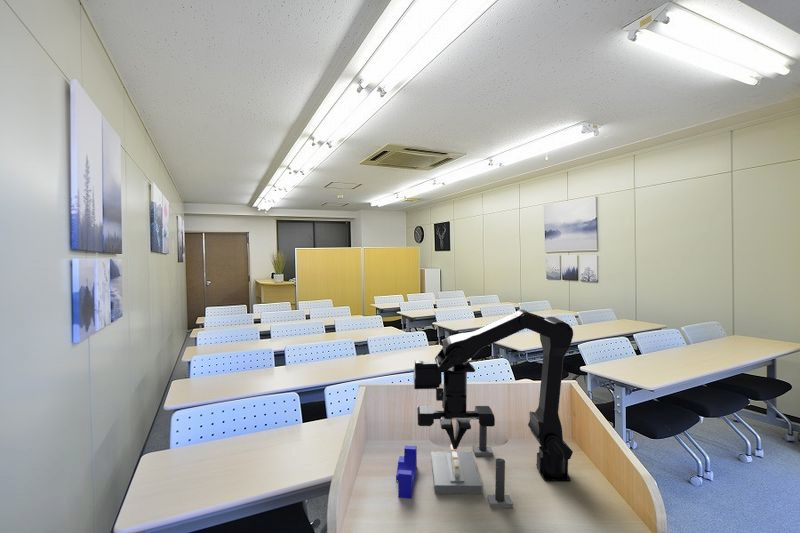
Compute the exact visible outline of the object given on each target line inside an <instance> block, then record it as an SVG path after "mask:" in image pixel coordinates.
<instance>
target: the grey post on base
mask: <svg viewBox="0 0 800 533" xmlns="http://www.w3.org/2000/svg"><path fill="white" fill-rule="evenodd" d="M478 424H479V423H478ZM478 427H479V429H478V430H479V431H478V432H479V433H478V435H479V438H478V440H479V441H478V442H479V444H478V445H477V446H476V445H475V446H472V453H473V456H475V457H493V456H494V451H493V448H492V446H487V444H488V443H487V440H488V436H487V434H488V433H487V430H488V429H487V428H488V427H487V426H481V425H480V424H479V426H478Z"/></svg>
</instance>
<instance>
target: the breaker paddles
mask: <svg viewBox="0 0 800 533" xmlns="http://www.w3.org/2000/svg"><path fill="white" fill-rule="evenodd" d="M449 447H450V448H449V450H450V451H449V452H450V455H451V459H452V465H453V471H454V476H455V477H456V478H459V475H460V466H459V461H458V456H457V452H458V451H457V449H453V446H452V443H451V444H449Z"/></svg>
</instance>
